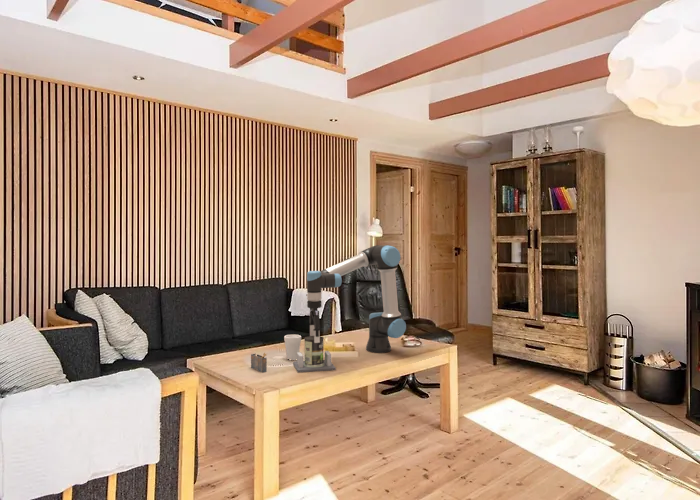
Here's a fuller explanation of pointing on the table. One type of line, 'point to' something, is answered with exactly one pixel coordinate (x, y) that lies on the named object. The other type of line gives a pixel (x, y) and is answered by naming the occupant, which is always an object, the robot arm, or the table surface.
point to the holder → (325, 367)
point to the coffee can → (313, 352)
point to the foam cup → (292, 346)
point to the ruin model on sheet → (259, 362)
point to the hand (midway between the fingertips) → (314, 339)
